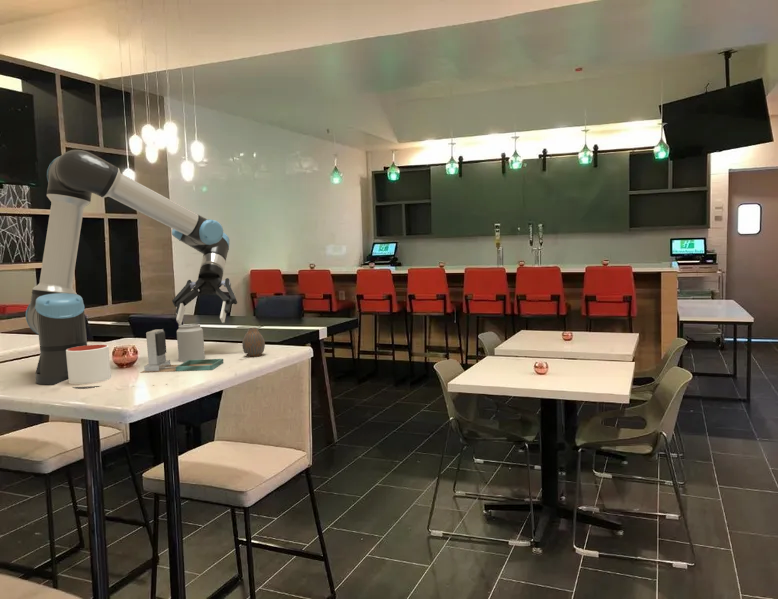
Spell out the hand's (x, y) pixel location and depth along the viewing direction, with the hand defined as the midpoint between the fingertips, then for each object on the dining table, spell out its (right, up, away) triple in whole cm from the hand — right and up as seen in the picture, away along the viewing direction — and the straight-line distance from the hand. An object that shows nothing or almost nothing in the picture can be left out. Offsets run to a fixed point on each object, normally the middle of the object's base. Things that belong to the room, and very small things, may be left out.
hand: (200, 321), depth 194 cm
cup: (-19, -16, -30) cm, 39 cm away
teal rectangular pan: (+1, -14, -19) cm, 24 cm away
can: (-1, -13, -6) cm, 14 cm away
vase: (+16, -11, +4) cm, 20 cm away
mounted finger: (-6, -12, -19) cm, 24 cm away
